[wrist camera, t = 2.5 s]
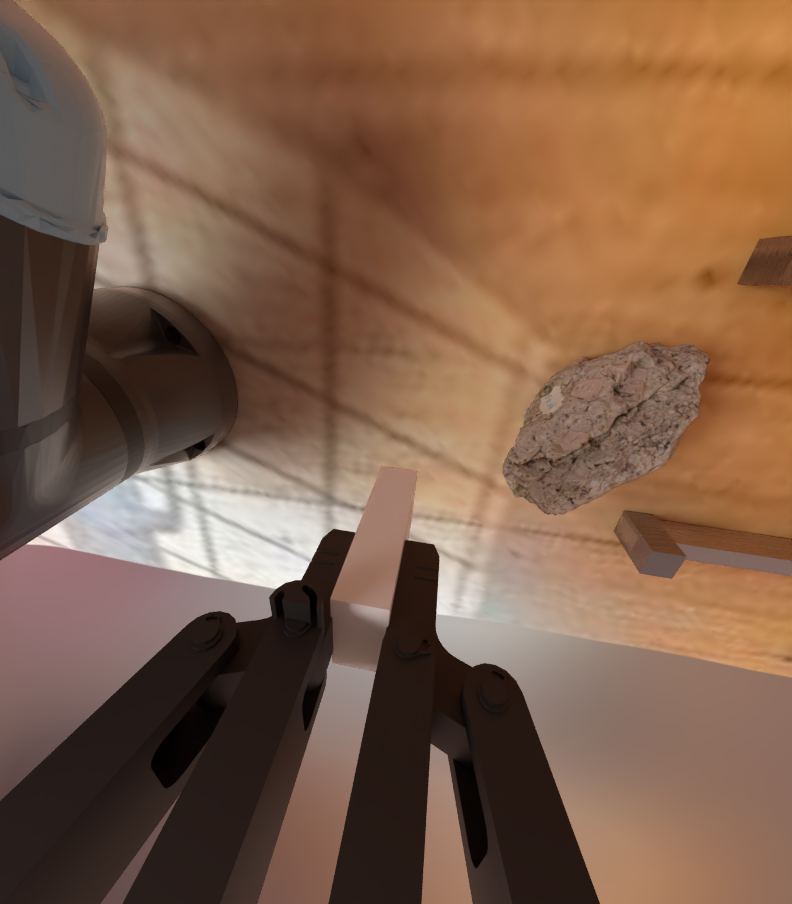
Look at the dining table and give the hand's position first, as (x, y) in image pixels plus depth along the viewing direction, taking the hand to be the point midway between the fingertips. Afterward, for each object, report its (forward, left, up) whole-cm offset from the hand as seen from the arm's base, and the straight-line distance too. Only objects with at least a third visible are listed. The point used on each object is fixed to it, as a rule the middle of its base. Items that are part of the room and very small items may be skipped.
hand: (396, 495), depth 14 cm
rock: (+12, 0, -15) cm, 19 cm away
